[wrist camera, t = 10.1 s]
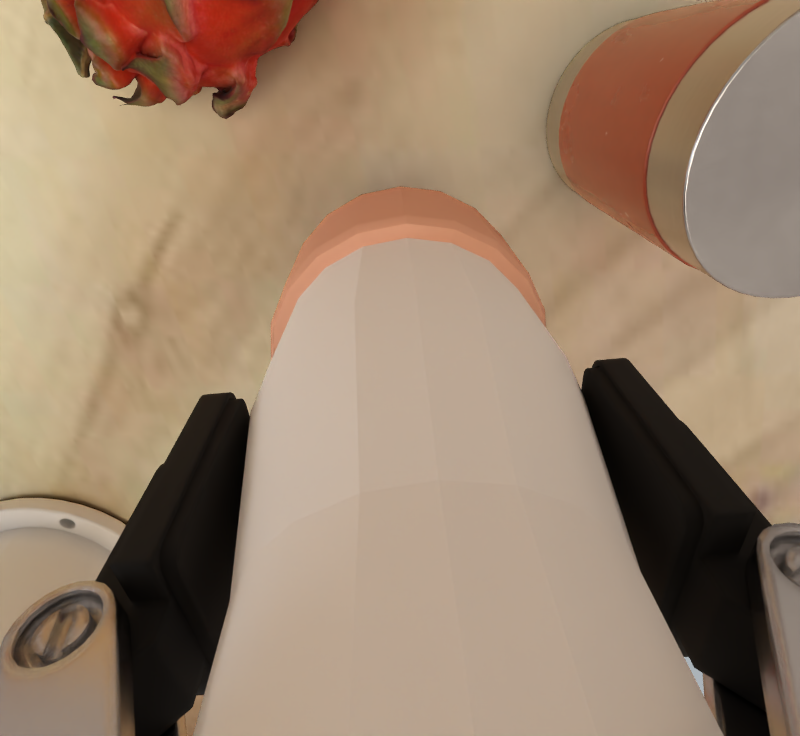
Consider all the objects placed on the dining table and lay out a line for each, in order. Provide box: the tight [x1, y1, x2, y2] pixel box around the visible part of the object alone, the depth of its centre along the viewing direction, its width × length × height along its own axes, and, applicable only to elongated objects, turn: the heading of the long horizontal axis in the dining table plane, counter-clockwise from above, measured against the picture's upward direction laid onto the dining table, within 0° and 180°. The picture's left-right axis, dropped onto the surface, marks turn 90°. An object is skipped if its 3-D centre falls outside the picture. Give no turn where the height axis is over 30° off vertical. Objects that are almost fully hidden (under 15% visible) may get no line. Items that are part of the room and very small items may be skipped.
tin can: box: [546, 0, 800, 298], centre depth 16 cm, size 7×7×11 cm
